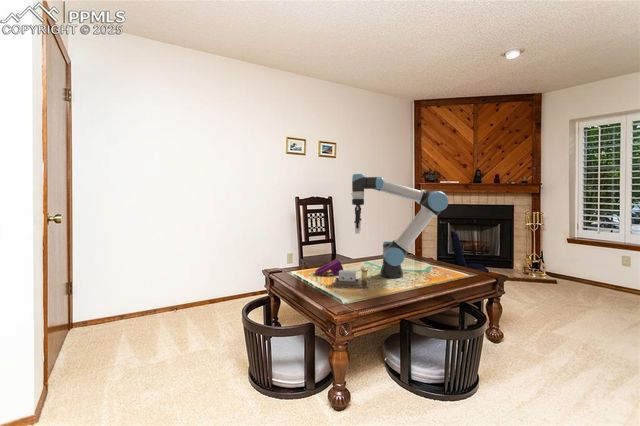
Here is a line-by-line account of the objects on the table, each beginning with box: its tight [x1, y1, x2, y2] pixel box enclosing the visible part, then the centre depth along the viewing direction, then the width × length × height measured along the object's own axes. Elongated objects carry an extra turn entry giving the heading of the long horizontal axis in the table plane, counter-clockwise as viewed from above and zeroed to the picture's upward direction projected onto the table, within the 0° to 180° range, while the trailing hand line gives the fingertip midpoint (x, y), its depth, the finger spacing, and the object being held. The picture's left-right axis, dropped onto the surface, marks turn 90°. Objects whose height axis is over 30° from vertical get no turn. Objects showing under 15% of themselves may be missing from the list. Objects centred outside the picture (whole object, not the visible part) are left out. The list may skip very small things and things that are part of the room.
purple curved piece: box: [314, 258, 344, 276], centre depth 225 cm, size 10×8×18 cm
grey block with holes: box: [338, 269, 357, 283], centre depth 199 cm, size 10×5×7 cm, turn 81°
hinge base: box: [333, 267, 369, 290], centre depth 199 cm, size 20×12×10 cm, turn 81°
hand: (357, 232), depth 208 cm, fingers open, 13 cm apart
